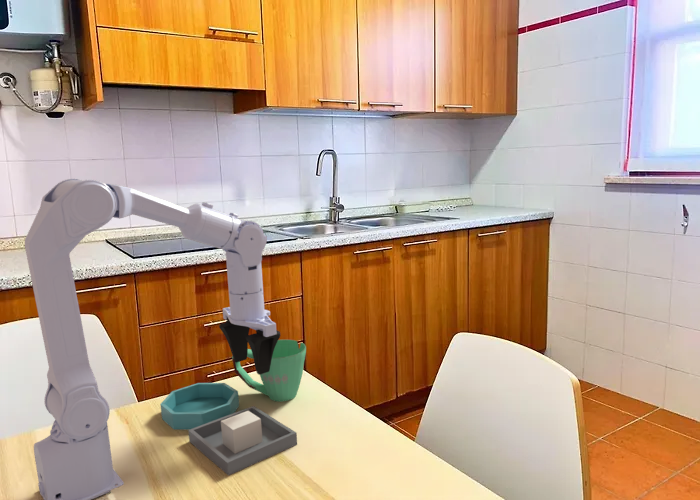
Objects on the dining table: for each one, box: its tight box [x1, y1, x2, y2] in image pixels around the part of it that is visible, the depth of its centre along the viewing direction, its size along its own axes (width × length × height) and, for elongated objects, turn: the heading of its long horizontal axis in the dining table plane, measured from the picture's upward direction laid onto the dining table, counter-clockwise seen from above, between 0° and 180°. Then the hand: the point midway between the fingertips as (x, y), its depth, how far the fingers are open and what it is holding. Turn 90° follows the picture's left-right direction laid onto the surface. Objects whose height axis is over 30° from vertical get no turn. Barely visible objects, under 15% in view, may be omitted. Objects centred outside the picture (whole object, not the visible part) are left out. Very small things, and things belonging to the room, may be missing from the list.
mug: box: [231, 339, 307, 403], centre depth 105 cm, size 15×10×10 cm
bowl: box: [160, 382, 240, 431], centre depth 99 cm, size 13×13×3 cm
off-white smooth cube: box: [221, 411, 263, 453], centre depth 88 cm, size 5×4×4 cm
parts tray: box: [187, 405, 298, 477], centre depth 88 cm, size 12×13×2 cm
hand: (251, 366), depth 95 cm, fingers open, 7 cm apart
